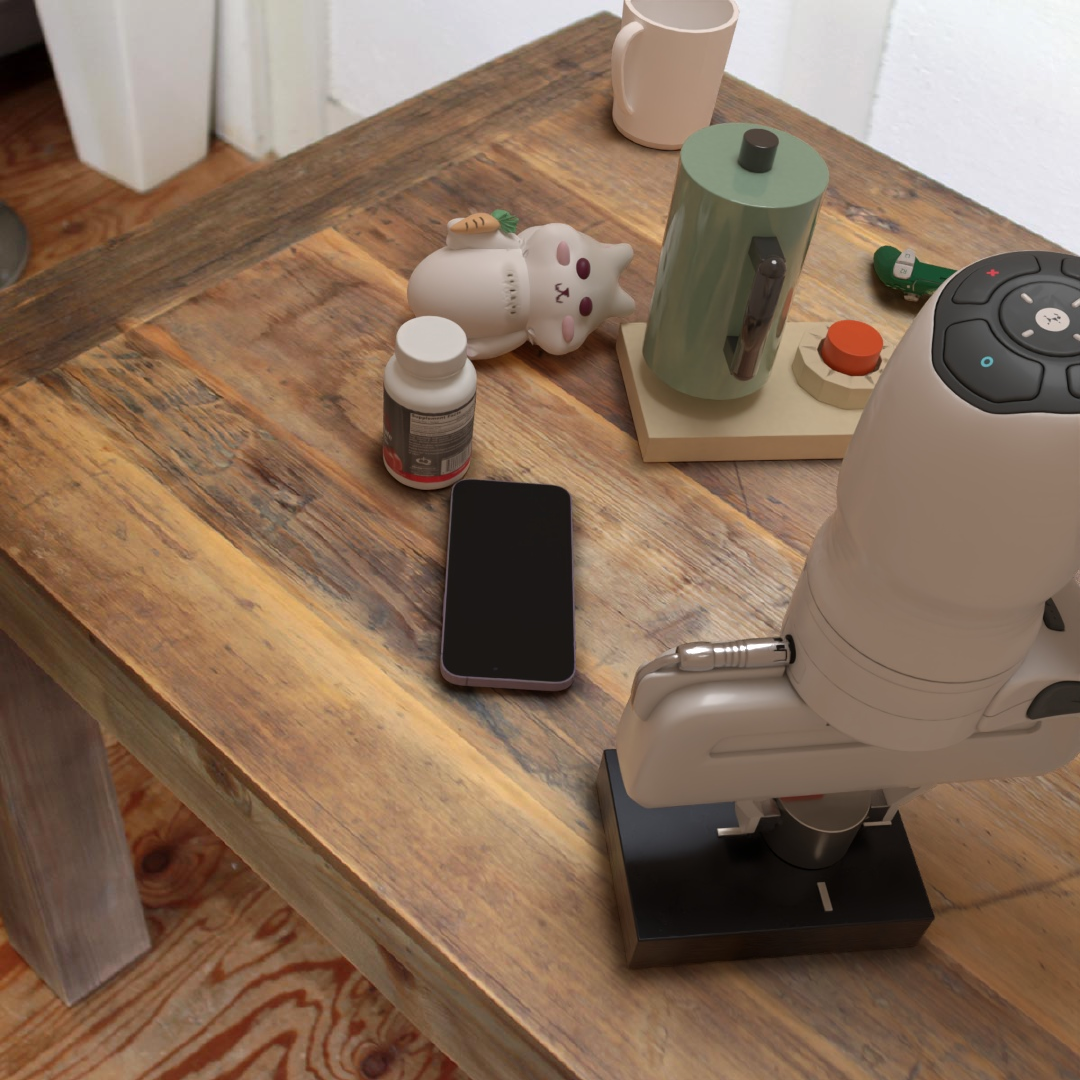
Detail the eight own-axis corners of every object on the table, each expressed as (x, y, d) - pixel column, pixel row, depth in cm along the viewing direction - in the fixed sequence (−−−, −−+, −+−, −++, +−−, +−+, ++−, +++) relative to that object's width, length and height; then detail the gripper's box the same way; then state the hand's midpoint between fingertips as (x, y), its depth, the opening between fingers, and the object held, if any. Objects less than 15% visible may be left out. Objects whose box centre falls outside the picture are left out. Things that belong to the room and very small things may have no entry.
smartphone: (572, 485, 80) (577, 684, 70) (570, 498, 81) (575, 697, 71) (451, 476, 80) (438, 676, 70) (450, 490, 81) (437, 689, 70)
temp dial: (835, 784, 65) (856, 741, 63) (862, 865, 63) (885, 824, 60) (749, 790, 65) (766, 748, 62) (772, 873, 62) (792, 832, 59)
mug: (662, 84, 114) (683, -34, 107) (735, 134, 110) (763, 15, 102) (565, 120, 109) (580, -2, 101) (638, 173, 105) (659, 50, 97)
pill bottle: (375, 435, 83) (376, 310, 75) (460, 426, 84) (469, 303, 77) (390, 497, 79) (393, 373, 72) (478, 487, 81) (490, 364, 73)
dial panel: (857, 765, 70) (874, 732, 68) (916, 946, 63) (937, 916, 61) (595, 780, 68) (603, 746, 65) (628, 969, 61) (638, 939, 59)
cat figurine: (397, 219, 82) (639, 201, 83) (400, 211, 90) (622, 194, 90) (412, 373, 85) (646, 354, 86) (414, 352, 92) (629, 335, 93)
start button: (866, 340, 88) (874, 319, 87) (882, 376, 86) (890, 355, 84) (814, 340, 87) (821, 319, 86) (829, 377, 85) (836, 356, 84)
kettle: (748, 291, 90) (804, 77, 78) (798, 432, 81) (871, 214, 69) (625, 291, 88) (665, 73, 77) (663, 434, 79) (714, 213, 68)
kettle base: (856, 345, 93) (873, 300, 90) (904, 457, 86) (923, 412, 83) (615, 347, 91) (623, 300, 88) (643, 462, 83) (653, 416, 80)
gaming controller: (862, 295, 100) (874, 284, 94) (874, 245, 100) (887, 231, 94) (984, 323, 99) (1004, 313, 93) (997, 273, 99) (1018, 260, 93)
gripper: (658, 720, 49) (608, 896, 59) (1167, 683, 52) (1035, 855, 62) (626, 587, 53) (584, 773, 63) (1099, 561, 56) (986, 741, 66)
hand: (812, 814), depth 63 cm, fingers closed on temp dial, 4 cm apart
